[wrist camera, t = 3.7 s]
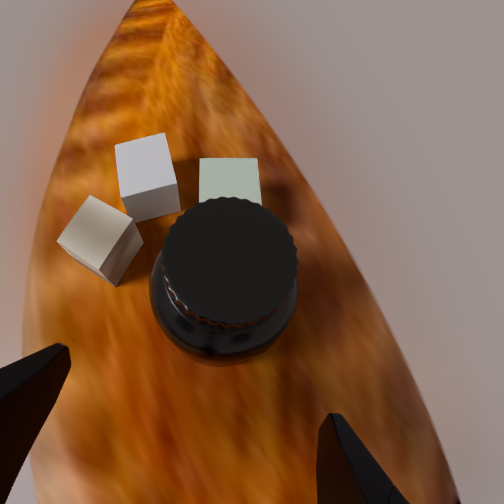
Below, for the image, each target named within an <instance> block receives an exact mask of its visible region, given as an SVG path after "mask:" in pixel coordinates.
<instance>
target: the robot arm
mask: <svg viewBox="0 0 504 504" xmlns="http://www.w3.org/2000/svg"><path fill="white" fill-rule="evenodd" d="M70 368H71V359H70V353H69V348H68V347H67V346H66V345H63V344H61V343H55V344H53V345H51V346H49V347H46V348H44V349H42V350H40V351H38V352H35V353H33V354H31V355H29V356H27V357H25V358H22V359H20V360H18V361H16V362H14V363H11V364H9V365H7V366H5V367H3V368H0V504H5V503H6V500H7V498H8V496H9V493H10V491H11V489H12V486H13V484H14V482H15V480H16V478H17V476H18V473H19V471H20V469H21V467H22V465H23V463H24V461H25V459H26V457H27V455H28V453H29V451H30V449H31V447H32V445H33V443H34V441H35V440H36V438H37V436H38V434H39V432H40V430H41V428H42V426H43V425H44V423H45V421H46V419H47V417H48V415H49V414H50V412H51V410H52V408H53V406H54V405H55V403H56V400H57V398H58V396H59V394H60V391H61V389H62V387H63V384H64V382H65V380H66V377H67V375H68V373H69V371H70ZM316 479H317V502H318V504H410V503H409V502H408V501H407V500H406V499H405V498H404V496H403V495H402V494H401V493H400V491H399V490H398V489H397V488H396V486H395V485H393V482H392V481H391V480H390V478H389V477H388V476H387V475H386V473H385V472H384V471H383V469H382V468H381V467H380V465H379V464H378V463H377V461H376V460H375V459H374V457H373V456H372V455H371V453H370V452H369V451H368V449H367V448H366V447H365V445H364V444H363V443H362V441H361V440H360V439H359V437H358V436H357V435H356V433H355V432H354V431H353V429H352V428H351V427H350V425H349V424H348V423H347V421H346V420H345V418H344V417H343V416H342V415H341V414H338V413H329V414H328V415H327V417H326V418H325V420H324V421H323V423H322V424H321V426H320V428H319V433H318V449H317V463H316Z"/></svg>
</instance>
